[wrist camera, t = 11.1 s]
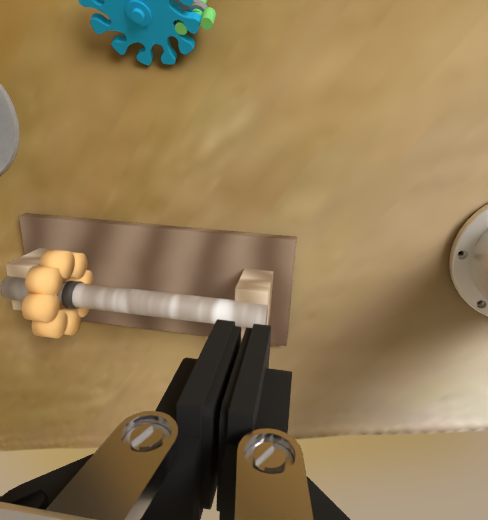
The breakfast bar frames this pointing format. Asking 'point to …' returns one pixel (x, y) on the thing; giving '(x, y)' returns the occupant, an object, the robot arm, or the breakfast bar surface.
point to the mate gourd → (7, 131)
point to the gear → (152, 24)
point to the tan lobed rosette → (54, 293)
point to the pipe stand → (164, 274)
